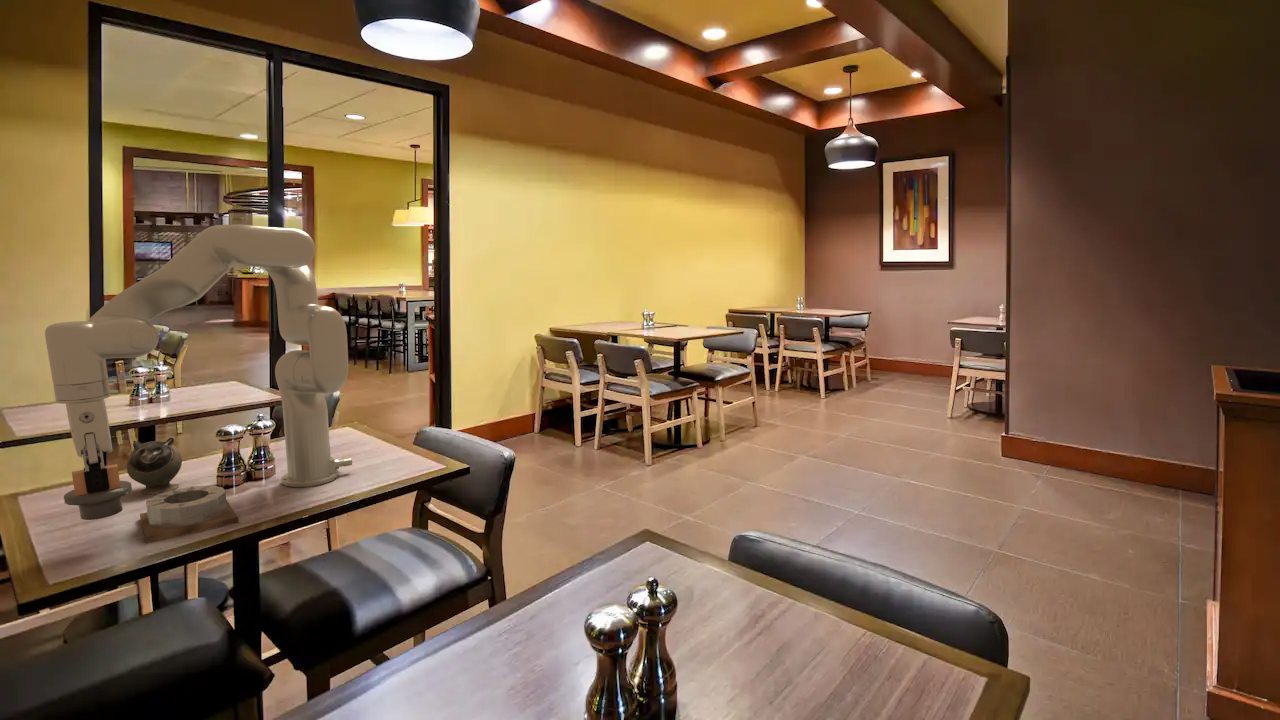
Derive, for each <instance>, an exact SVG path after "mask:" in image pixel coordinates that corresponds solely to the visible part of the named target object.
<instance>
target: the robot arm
mask: <svg viewBox="0 0 1280 720" xmlns="http://www.w3.org/2000/svg"><path fill="white" fill-rule="evenodd" d="M315 255H316V245H315V242H314V239H313V238H312V237H311V236H310V234H308V233H307V232H306V231H303V230H302V229H299V228H290V227H275V226H262V225H253V224H252V225H250V224H240V223H238V224H216V225H211V226H209V227H207V228H205V229H203V230H202V231H201V232H200V233H199V234H197V235H196V236H195V237H194V238H193V239H192V240H191V241H190V242H188V243H187V244H186V245H185V246H184V247H183V248H182V249H181V250H179V251H178V252H177V253H176V254H175V255H174V256H173V257H172V258H171V259H170V260H169V261H168V262H166V263H165V264H164V265H163V266H162V267H160V268H159V269H158V270H155V272H152V273H151V274H149V275H147V276H145V277H144V278H142V279H141V280H139V281H137V282H135V283H134V284H132V285H131V286H129V287H127V288H126V289H124V290H122V291H121V292H119V293H118V294H117V295H115V296H114V297H112V298H111V299H110V300H108V302H106V303H105V304H104V305H103V306H102V307H100V309H99V310H98V311H96V312H95V313H94V314H93V315H92V316H91V317H90V318H89V319H88V320H87V321H85V320H83V321H81V320H79V321H77V320H76V321H75V320H74V321H64V322H57V323H56V322H55V323H52V324H49V325H48V326H46V328H45V330H44V338H45V344H46V350H47V356H48V361H49V368H50V373H51V379H52V386H53V392H54V397H55V402H56V404H60V405H61V404H64V405H65V407H66V413H67V419H68V420H67V421H68V424H69V429H70V434H71V438H72V442H73V445H74V448H75V451H76V455H77V457H79V458H82V459H83V465H84V466H83V467H84V468H83V470H85V472H84V477H85V483H86V489H87V493H93V492H99V491H104V490H108V489H109V488H110V487H109V480H108V474H107V468H105V466H107V464H105V460H104V453H105V452H107V453H108V454H111V453H112V452H113V444H112V437H111V436H112V435H111V431H110V424H109V418H108V417H109V416H108V411H107V407H106V402H105V399H108V398H110V397H112V394H111V387H110V383H109V382H110V381H109V375H108V369H107V362H106V360H109V359H134V358H141V357H143V356H145V355H148V354H150V353H151V352H153V351H154V350H155V349H156V347H157V346H158V343H159V341H160V336H159V335H160V334H159V332H158V330H157V328H156V327H155V325H153V324H152V323H151V322H150V321H152V320H154V319H155V318H156V317H158V316H160V315H162V314H164V313H167V312H168V311H171V310H174V309H178V308H182V307H185V306H187V305H190V304H192V303H194V302H197V301H198V300H200V299H201V298H202V297H203V296H204V295H205V294H207V292H208V291H209V290H210V289H212V287H214V286H215V285H216V283H218V282H219V281H220V280H221V278H223V277H224V276H225V275H226V274H227V273H228V272H229V271H230V270H231V269H232V268H233V267H259V268H262V269H263V270H265V272H267V274H268V275H269V276H270V278H271V279H272V282H273V284H274V288H275V294H276V304H277V305H276V307H277V320H278V322H277V323H278V330H279V334H280V336H281V338H282V339H283V340H284V341H285V342H286V343H289V344H293V345H298V346H307V347H308V349H309V350H303V349H298V350H297V349H296V350H290V351H288V352H286V353H284V354H283V355H281V356H280V358H279V359H278V360H277V362H276V364H275V369H274V370H275V371H274V372H275V374H274V375H275V381H276V383H277V388H278V390H279V394H280V398H281V405H282V407H281V408H282V414H283V416H282V417H283V428H284V429H283V430H284V432H283V433H284V442H285V454H286V465H287V466H286V468H287V473H285V474H283V475H282V476H281V477H280V482H281V484H282V485H284V486H286V487H290V488H304V487H307V488H308V487H313V485H314V486H319V485H323V483H324V484H327V483H330V482H331V481H335V480H336V479H337V478H338V477H339V476H340V472H339V469H340V467H341V468H342V467H349V466H352V465H353V460H352V457H346V458H344V457H338V458H334V457H332V456H331V443H330V442H331V440H330V429H329V427H330V426H329V414H328V413H329V412H328V404H327V400H326V397H325V395H324V394H327V395H328V394H335V393H337V392H338V391H340V390H342V388H343V387H344V386H345V385H346V383H347V380H348V375H349V349H348V348H349V347H348V346H349V345H348V333H347V331H348V329H347V326H346V323H345V319H344V318H343V316H342V315H341V313H340V312H339V311H338V310H336V309H335V308H333V307H330V306H327V305H320V304H319V299H318V289H317V283H316V279H315V276H314V274H313V272H312V270H311V269H310V267H309V266H308V265H309V264H311V262H312V261H313V259H314V258H315ZM335 478H336V479H335ZM329 481H330V482H329ZM326 482H327V483H326Z"/></svg>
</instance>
